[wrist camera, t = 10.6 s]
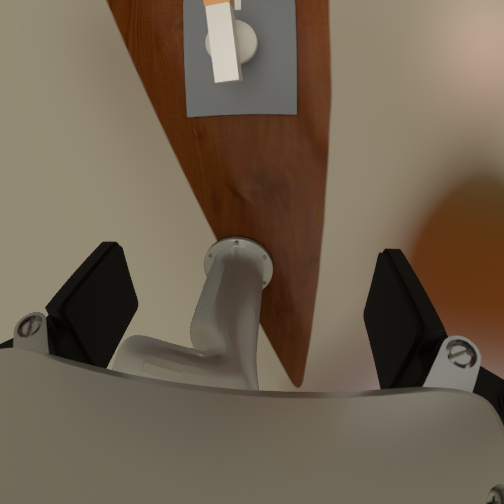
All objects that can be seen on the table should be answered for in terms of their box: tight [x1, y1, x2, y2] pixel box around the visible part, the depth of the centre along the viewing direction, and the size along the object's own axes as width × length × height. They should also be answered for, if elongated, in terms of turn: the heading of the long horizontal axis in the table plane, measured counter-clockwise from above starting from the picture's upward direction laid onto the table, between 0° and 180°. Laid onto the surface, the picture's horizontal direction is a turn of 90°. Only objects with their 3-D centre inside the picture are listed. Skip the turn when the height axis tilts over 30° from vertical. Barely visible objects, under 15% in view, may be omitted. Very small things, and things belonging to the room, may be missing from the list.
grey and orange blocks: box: [203, 0, 258, 84], centre depth 26 cm, size 11×6×9 cm, turn 6°
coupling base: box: [183, 0, 297, 117], centre depth 32 cm, size 20×16×6 cm
